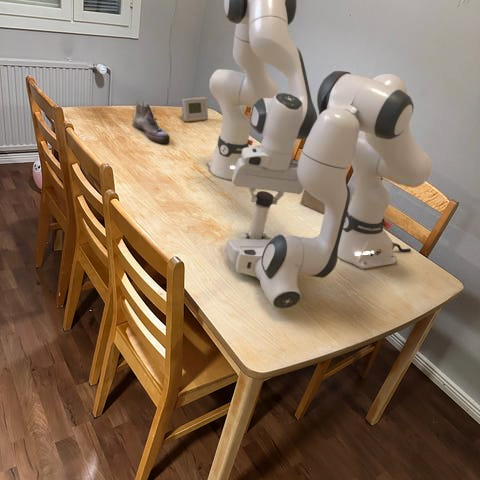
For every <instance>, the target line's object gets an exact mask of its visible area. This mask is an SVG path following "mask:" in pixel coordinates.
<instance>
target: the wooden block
mask: <svg viewBox="0 0 480 480" xmlns="http://www.w3.org/2000/svg"><path fill="white" fill-rule="evenodd" d="M300 204H302V205H303V206H305V207H307V208H309V209H310V208H311V209H312V210H315V211H317V212H319V213H322V214H324V213H325V204H324V203H323V202H321V201H320V200H318V199H317V198H315V197H313V196H312V195H311V194H310V193H308V192H307V191H306V190H305V189H304V190H303V192H302V196H301V199H300Z"/></svg>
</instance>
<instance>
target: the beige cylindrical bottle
mask: <svg viewBox="0 0 480 480" xmlns="http://www.w3.org/2000/svg"><path fill="white" fill-rule="evenodd" d="M254 203H255V204H254V208H253V212H252V216H251V220H250V225H249V229H248V232H247V233H248V234H249V239H262V236H263V233H265V228H266V224H267V221H268V217H269V213H270V209H271V206H269V207H264V206H260V205H258V204H257V203H256V202H254Z"/></svg>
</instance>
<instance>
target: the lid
mask: <svg viewBox="0 0 480 480" xmlns="http://www.w3.org/2000/svg"><path fill="white" fill-rule="evenodd" d="M256 195H257V197H258V198H257V202H255V203H257V204H258V205H260V206H264V207H269V206H270V207H271V206H272V205H273V204H272V202H273V197H274V195H273V194H272V193H271V192H270V191H269V192H268V191H266V190H259V191H258V192H256Z"/></svg>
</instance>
